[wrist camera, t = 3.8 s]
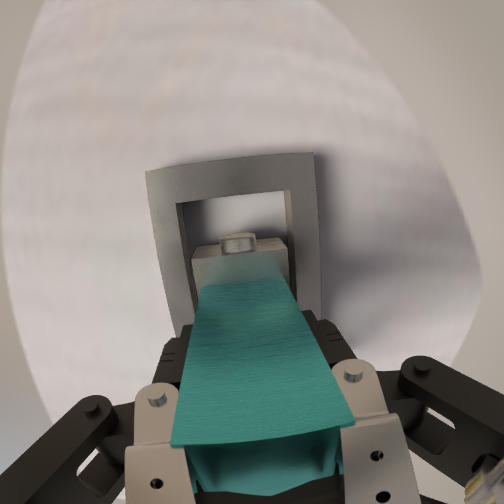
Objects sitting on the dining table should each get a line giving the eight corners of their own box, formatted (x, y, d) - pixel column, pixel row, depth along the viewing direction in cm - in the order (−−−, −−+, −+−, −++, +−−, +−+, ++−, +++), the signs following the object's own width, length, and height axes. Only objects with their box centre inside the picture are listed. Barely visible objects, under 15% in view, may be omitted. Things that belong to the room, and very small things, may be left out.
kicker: (156, 242, 13) (35, 370, 4) (317, 222, 14) (467, 317, 4) (188, 377, 16) (168, 530, 6) (319, 361, 16) (382, 502, 6)
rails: (153, 172, 13) (145, 171, 11) (304, 154, 13) (313, 152, 12) (224, 466, 19) (225, 479, 18) (309, 455, 19) (312, 468, 18)
